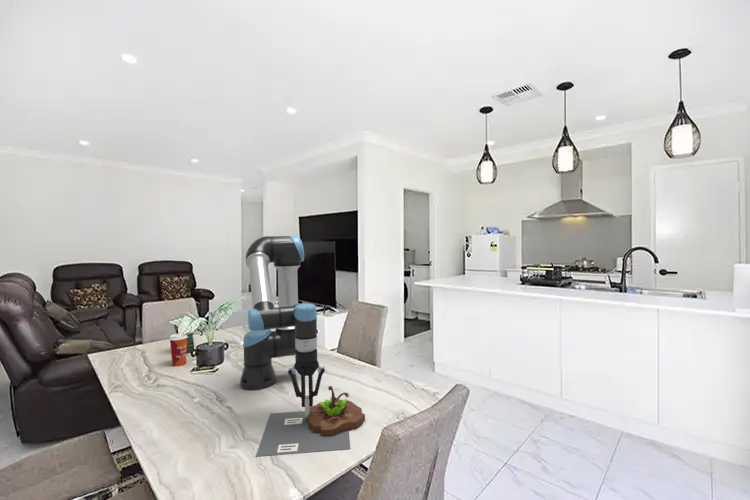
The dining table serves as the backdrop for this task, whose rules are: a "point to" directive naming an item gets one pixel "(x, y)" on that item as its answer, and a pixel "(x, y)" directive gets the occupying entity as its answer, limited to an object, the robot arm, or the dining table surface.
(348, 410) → the plant
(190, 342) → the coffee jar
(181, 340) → the coffee cup
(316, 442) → the label mat
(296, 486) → the dining table surface
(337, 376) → the dining table surface
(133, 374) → the dining table surface
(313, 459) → the dining table surface
